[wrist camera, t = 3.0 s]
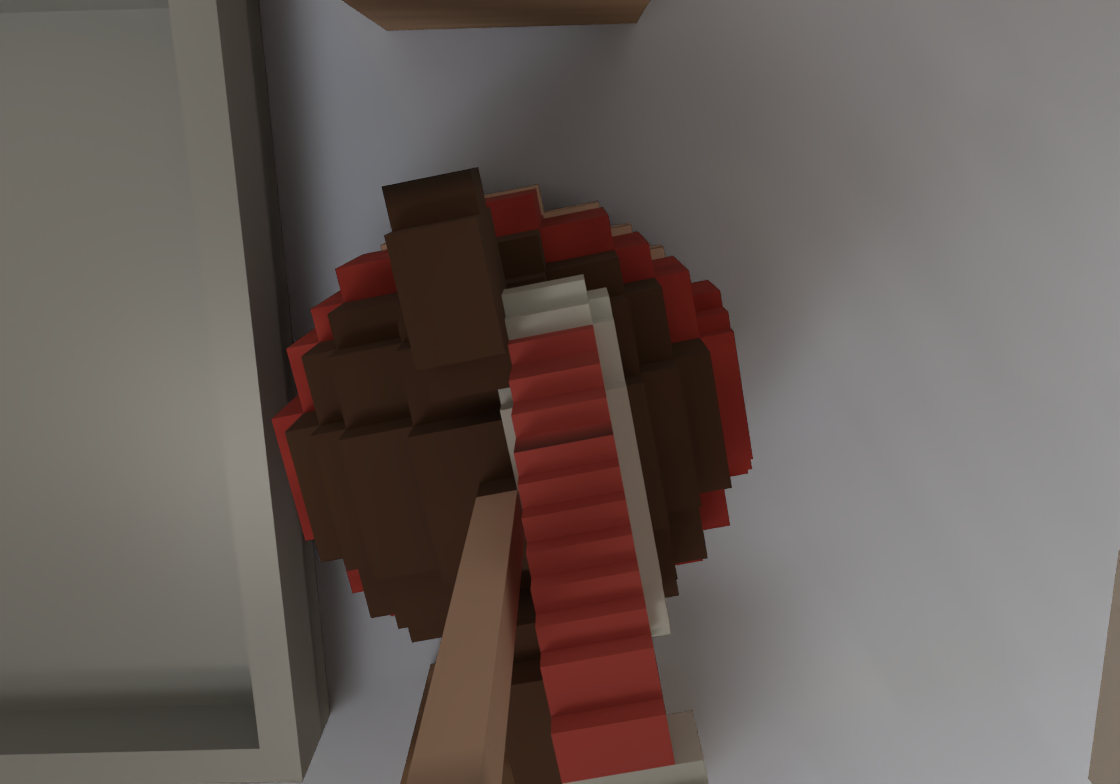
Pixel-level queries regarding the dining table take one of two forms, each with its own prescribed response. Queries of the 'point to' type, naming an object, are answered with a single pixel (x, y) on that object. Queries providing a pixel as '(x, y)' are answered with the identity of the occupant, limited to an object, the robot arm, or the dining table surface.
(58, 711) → the tray
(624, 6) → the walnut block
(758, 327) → the dining table surface
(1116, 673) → the robot arm
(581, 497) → the cake
